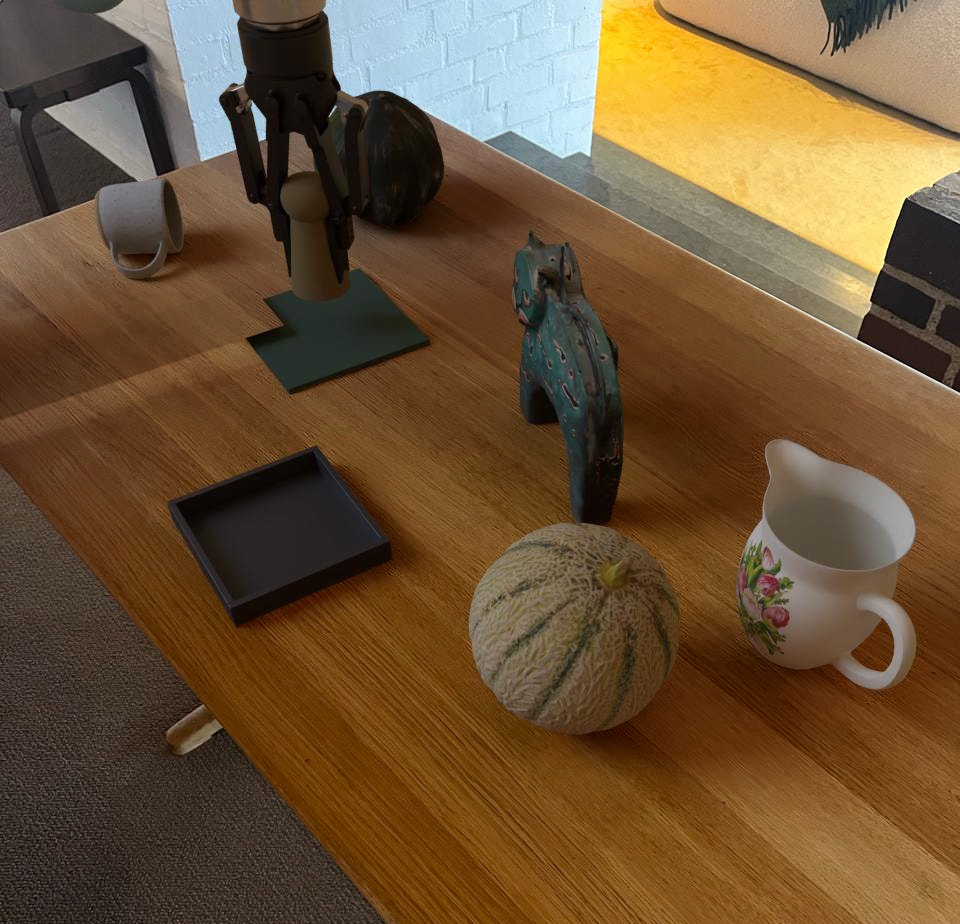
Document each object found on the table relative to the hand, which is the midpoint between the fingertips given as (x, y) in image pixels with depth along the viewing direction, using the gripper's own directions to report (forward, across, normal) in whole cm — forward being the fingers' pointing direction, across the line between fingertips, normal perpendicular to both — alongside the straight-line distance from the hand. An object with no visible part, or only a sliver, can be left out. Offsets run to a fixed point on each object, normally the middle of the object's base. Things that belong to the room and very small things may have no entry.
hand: (319, 273), depth 100 cm
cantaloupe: (+7, -33, +40) cm, 53 cm away
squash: (+7, +2, -25) cm, 26 cm away
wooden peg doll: (+2, 0, 0) cm, 2 cm away
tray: (+7, -6, +30) cm, 32 cm away
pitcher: (+7, -50, +32) cm, 60 cm away
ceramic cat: (+7, -28, +14) cm, 32 cm away
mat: (+7, 0, 0) cm, 7 cm away
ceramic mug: (+7, +25, -9) cm, 27 cm away
